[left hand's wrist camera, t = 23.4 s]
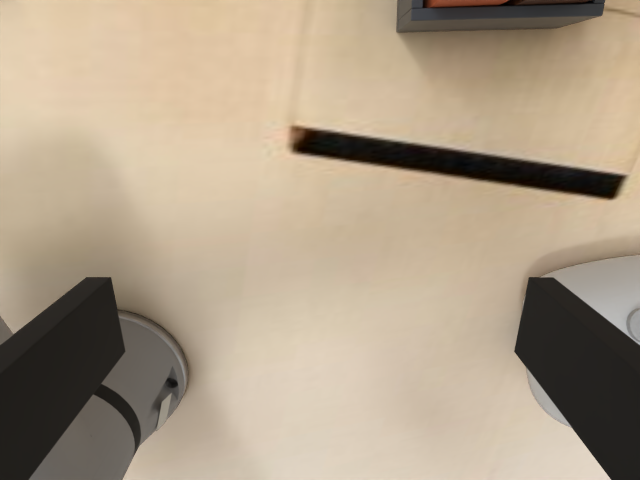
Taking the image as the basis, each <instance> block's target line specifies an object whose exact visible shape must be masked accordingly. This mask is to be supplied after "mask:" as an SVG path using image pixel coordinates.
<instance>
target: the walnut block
mask: <svg viewBox="0 0 640 480" xmlns="http://www.w3.org/2000/svg"><path fill="white" fill-rule="evenodd" d="M588 1H591V0H509V1H507V2H505V3H503V4H501V5H498V6H518V5H555V4H582V3H585V2H588Z"/></svg>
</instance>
